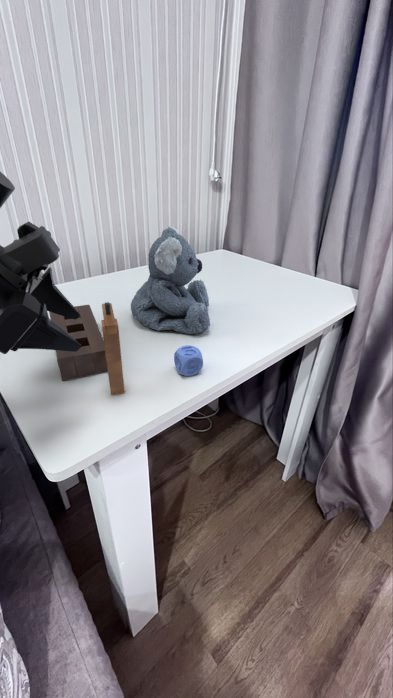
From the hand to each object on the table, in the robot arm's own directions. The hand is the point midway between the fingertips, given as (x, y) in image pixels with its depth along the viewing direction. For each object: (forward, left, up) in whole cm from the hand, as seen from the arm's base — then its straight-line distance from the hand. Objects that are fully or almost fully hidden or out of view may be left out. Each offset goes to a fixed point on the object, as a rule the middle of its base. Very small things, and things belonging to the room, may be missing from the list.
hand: (78, 331), depth 47 cm
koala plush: (+21, +20, -12) cm, 32 cm away
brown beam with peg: (+4, -1, -11) cm, 12 cm away
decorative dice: (+17, 0, -12) cm, 21 cm away
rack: (0, +14, -11) cm, 19 cm away
